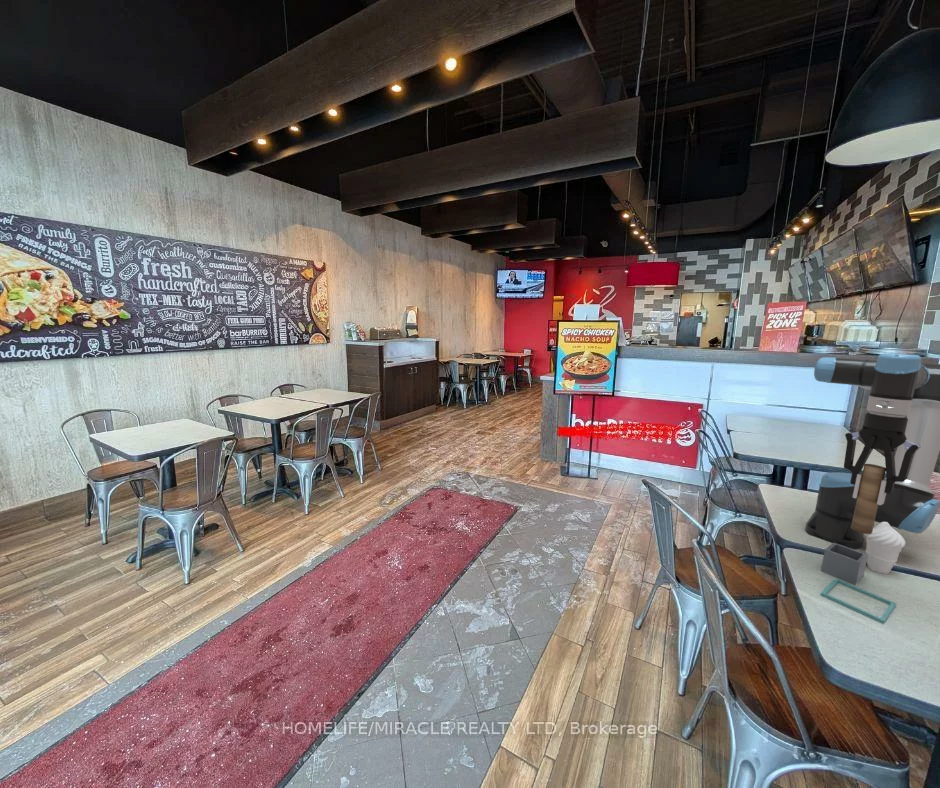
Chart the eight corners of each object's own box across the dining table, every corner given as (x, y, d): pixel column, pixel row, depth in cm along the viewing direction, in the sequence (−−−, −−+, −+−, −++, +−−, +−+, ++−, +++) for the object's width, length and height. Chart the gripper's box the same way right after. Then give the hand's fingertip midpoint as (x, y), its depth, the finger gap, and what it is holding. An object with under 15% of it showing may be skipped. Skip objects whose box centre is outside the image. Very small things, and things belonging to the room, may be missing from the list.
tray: (834, 583, 111) (835, 577, 110) (895, 609, 101) (896, 603, 100) (819, 598, 104) (820, 592, 104) (882, 627, 94) (884, 621, 94)
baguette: (853, 525, 106) (867, 462, 103) (873, 532, 103) (888, 467, 100) (848, 528, 104) (862, 465, 101) (869, 535, 101) (883, 469, 98)
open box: (828, 566, 119) (833, 542, 118) (862, 579, 113) (868, 554, 111) (820, 573, 115) (824, 549, 114) (854, 588, 109) (860, 562, 107)
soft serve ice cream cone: (906, 582, 112) (918, 531, 109) (872, 578, 113) (883, 528, 111) (882, 565, 120) (892, 517, 117) (850, 561, 122) (860, 514, 119)
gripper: (837, 408, 104) (821, 490, 107) (934, 422, 89) (911, 516, 93) (847, 407, 107) (831, 486, 111) (941, 420, 93) (919, 510, 97)
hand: (867, 500), depth 102 cm, fingers closed on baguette, 4 cm apart
